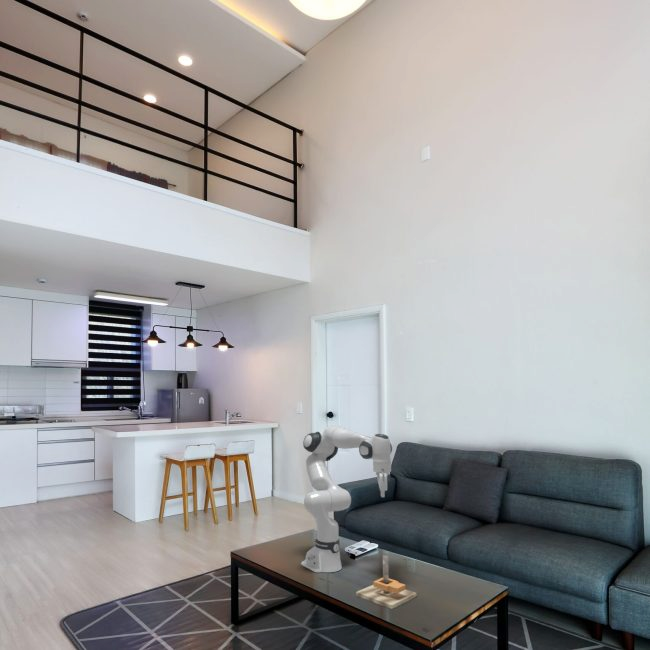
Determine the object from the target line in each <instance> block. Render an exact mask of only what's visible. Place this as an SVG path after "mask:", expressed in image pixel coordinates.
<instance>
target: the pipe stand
mask: <svg viewBox="0 0 650 650" xmlns="http://www.w3.org/2000/svg"><path fill="white" fill-rule="evenodd" d="M389 576H390V575H389V556H388V555H386V554H384V555H383V554H382V578H383V583H384V584H389V579H390V578H389ZM355 596H356V597H359V598H360V599H364V600H366V601H369V602H371V603H375V604H378V605H380V606H382V607H385V608H388V609H390V610H393V609H396V608H397V607H399V606H402V605H403V604H405V603H406V602H409V601H411V600H413V599H414V598H417V592H415V591H413V590H409V589H406V590H404V591H402V592H400V593H398V594H397V593H394V592H391V591H385V590H382V589H379V588H377V587H374V586H373V584H372V585H371V584H370V585H369V586H367V587H365V588H363V589H362V588H361V589H360V590H358V591H356V592H355Z"/></svg>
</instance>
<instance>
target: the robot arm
mask: <svg viewBox="0 0 650 650" xmlns="http://www.w3.org/2000/svg"><path fill="white" fill-rule="evenodd" d="M302 444H303V448H304V450H305V451H307V452H308V453H311V454H309V455H308V456H307V457H306V460H305V465H306V471H307V475H308V478H309V481H310V484H311V487H312V488H313V489H314V490H315V491H311V492H308V493H306V495H305V497H304V499H303V500H304V501H303V503H304V504H303V505H304V508H305V510H306V511H307V512H308V513H309V514H310V515H311V516H312V517H313V518H314V520H315V522H316V529H317V530H316V531H317V532H316V533H317V538H316V539H314V540H313V543H314V544H315V545H314V546H313V547H311V548H310V549H309V550H308V551H307V552H306V555H305V559H304V560H302V561H301V564H300V565H301V566H302V567H304V568H306V569H308V570H310V571H312V572H314V573H335V572H338V571H340V570H341V569H343V566H342V561H341V553H340V552H341V551H340V538H339V536H340V535H339V530H340V529H339V523H338V522H337V521H336V520H335V519H333V518H331V517H329V513H333V512H340V511H341V512H342V511H344V510H346V509H349V508H350V506H351V503H352V497H351V494H350V492H349V491H348V490H347V489H344V488H343V487H341V486H339V485H338V484H337V483H336V482H335V481H334V480H333V479H332V476H331V474H330V471H329V470H328V467H327V465H326V462H329V461H330V460H332V459H333V458H334V457H335V456H336V455H337V454H338V452H339V449H344V450H347V449H349V450H350V449H356V448H357V449H358V452H359V455H360V457H361V458H362V459H365V460H372V462H373V463H372V465H373V467H372V469H373V470H372V471H373V472H374V473H375V476H376V477H377V478H376V479H377V483H378V488H379V491H380V497H381V498H385V494H386V493H385V492H386V491H388V476H389V474H390V473H391V472H392V459H391V454H392V452H393V445H392V444H391V440H390V436H388V435H386V434H385V433H375V434H374V435H373V436H372V437H371V436H367V435H364V434H360V433H357V432H355V431H352V430H349V429H346V428H345V427H341V426H337V425H328V426H327V427H326V428H325V429H324V430H323V432H321V433H320V431H315V432H310V433H308V434H307V435H306V436H304V439H303V442H302Z"/></svg>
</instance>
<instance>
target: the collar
mask: <svg viewBox="0 0 650 650" xmlns="http://www.w3.org/2000/svg"><path fill="white" fill-rule="evenodd" d="M372 583H373V584H372V585H373V586H374V587H377V588H379V589H382V590H385V591H391V592H394V593H397V594H398V593H400V592H402V591H404V590H407V589H406V584H404V583H401V582H399V581H398V580H395V579H391V578H389V584H384V583H383V577H380V578H378V579H376V580H374V581H373V582H372Z"/></svg>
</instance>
